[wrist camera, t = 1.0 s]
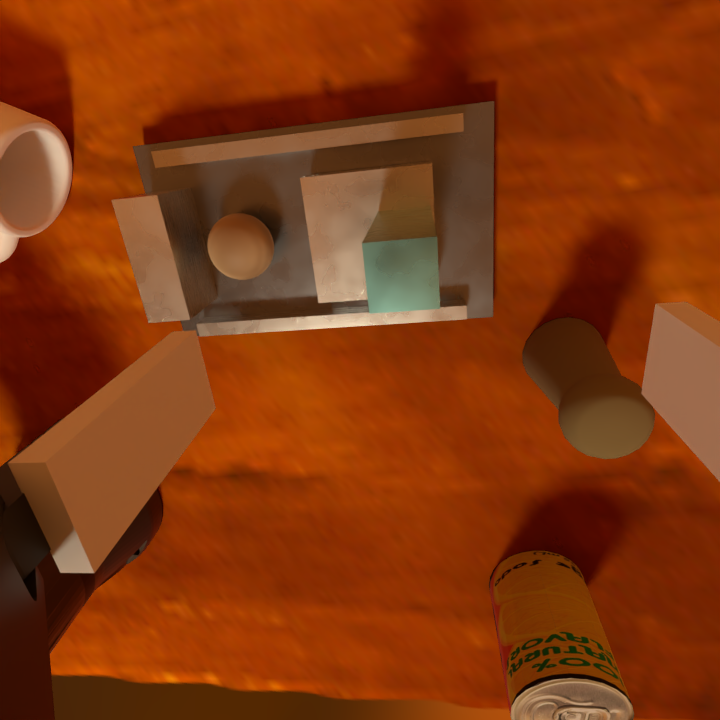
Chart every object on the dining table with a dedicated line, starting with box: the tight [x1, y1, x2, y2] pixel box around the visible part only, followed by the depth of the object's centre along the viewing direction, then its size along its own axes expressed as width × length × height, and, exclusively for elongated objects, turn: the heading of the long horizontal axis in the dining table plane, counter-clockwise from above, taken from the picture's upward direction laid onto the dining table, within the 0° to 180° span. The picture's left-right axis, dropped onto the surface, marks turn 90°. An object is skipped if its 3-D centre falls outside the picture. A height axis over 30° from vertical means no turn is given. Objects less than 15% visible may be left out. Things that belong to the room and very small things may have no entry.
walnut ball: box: [207, 213, 274, 280], centre depth 33 cm, size 4×4×4 cm
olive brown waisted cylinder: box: [523, 317, 655, 459], centre depth 32 cm, size 6×6×11 cm
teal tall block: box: [300, 161, 440, 314], centre depth 27 cm, size 8×8×13 cm
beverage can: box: [489, 551, 634, 720], centre depth 42 cm, size 9×9×12 cm
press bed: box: [112, 101, 494, 336], centre depth 32 cm, size 24×14×6 cm, turn 96°
